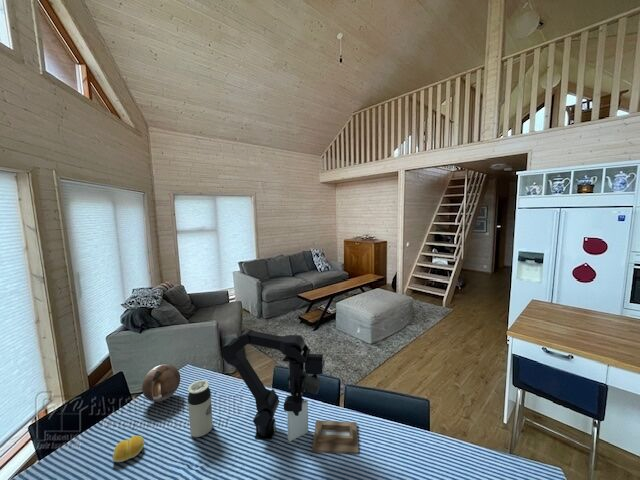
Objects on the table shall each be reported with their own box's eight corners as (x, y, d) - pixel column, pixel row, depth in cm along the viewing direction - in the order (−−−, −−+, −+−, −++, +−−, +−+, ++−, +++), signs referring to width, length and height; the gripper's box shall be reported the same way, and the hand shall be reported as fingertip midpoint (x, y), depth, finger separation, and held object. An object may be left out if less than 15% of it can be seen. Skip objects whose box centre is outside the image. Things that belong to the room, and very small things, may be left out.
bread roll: (144, 453, 91) (142, 443, 91) (112, 467, 87) (110, 457, 86) (145, 436, 98) (144, 426, 98) (115, 448, 94) (114, 438, 93)
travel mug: (185, 434, 100) (182, 390, 98) (202, 419, 107) (199, 377, 106) (201, 440, 97) (198, 395, 95) (217, 424, 104) (214, 382, 103)
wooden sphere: (159, 386, 129) (156, 357, 127) (188, 387, 127) (185, 358, 126) (135, 408, 114) (131, 376, 112) (167, 410, 112) (164, 377, 111)
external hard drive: (308, 432, 100) (308, 401, 99) (289, 442, 96) (288, 410, 94) (306, 429, 101) (306, 399, 100) (287, 438, 97) (286, 407, 96)
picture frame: (312, 452, 91) (312, 444, 91) (316, 422, 104) (315, 415, 104) (358, 454, 90) (358, 446, 90) (356, 424, 103) (356, 417, 102)
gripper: (315, 389, 86) (317, 433, 87) (320, 358, 104) (321, 394, 106) (282, 388, 87) (284, 431, 88) (293, 357, 105) (294, 393, 107)
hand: (297, 411), depth 97 cm, fingers open, 4 cm apart
